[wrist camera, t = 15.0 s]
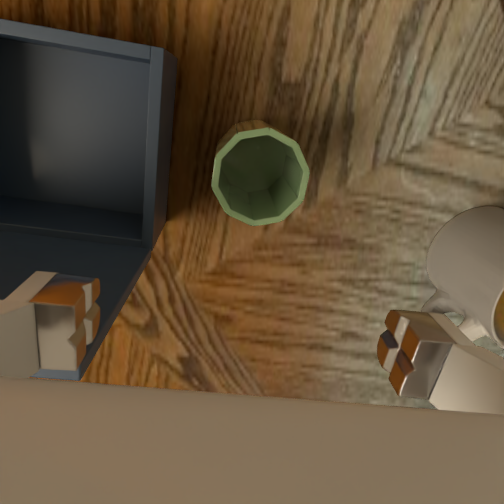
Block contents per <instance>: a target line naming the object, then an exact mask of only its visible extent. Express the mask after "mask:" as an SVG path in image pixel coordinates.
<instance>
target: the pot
mask: <svg viewBox="0 0 504 504" xmlns="http://www.w3.org/2000/svg"><path fill="white" fill-rule="evenodd" d="M309 170H310V169H309V167H308V165H307V162H306V160H305V158H304V156H303V153H302V151H301V149H300V146H299V144H298V143H297V142H296V141H295V140H293V139H292V138H290V137H289V136H287V135H286V134H285V133H283V132H282V131H280V130H278V129H276V128H275V127H273V126H271V125H269V124H267V123H265V122H264V121H262V120H252V121H246V122H241V123H236V125H235V124H234V125H233V126H232V127H231V128H230V129H229V130H228V131H227V133H226V134H225V135H224V136H223V137H222V138H221V139H220V140H219V141H218V144H217V149H216V154H215V159H214V168H213V176H212V184H211V187H212V190H213V192H214V194H215V195H216V197H217V199H218V201H219V203H220V204H221V206H222V208H223V210H224V212H225V213H227V215H229V216H231V217H233V218H236V219H238V220H240V221H242V222H244V223H246V224H248V225H250V226H252V225H253V226H259V225H265V224H271V223H277V222H281V220H282V221H283V220H284V219H285V218H286V217H287V216H288V215H289V214H290V213H291V212H293V211H294V210H295V209H296V208H297V207H298V206H299V205H300V204H301V203H302V202H303V201H302V200H304V197H305V193H306V188H307V184H308V179H309V175H310V172H309Z"/></svg>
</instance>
